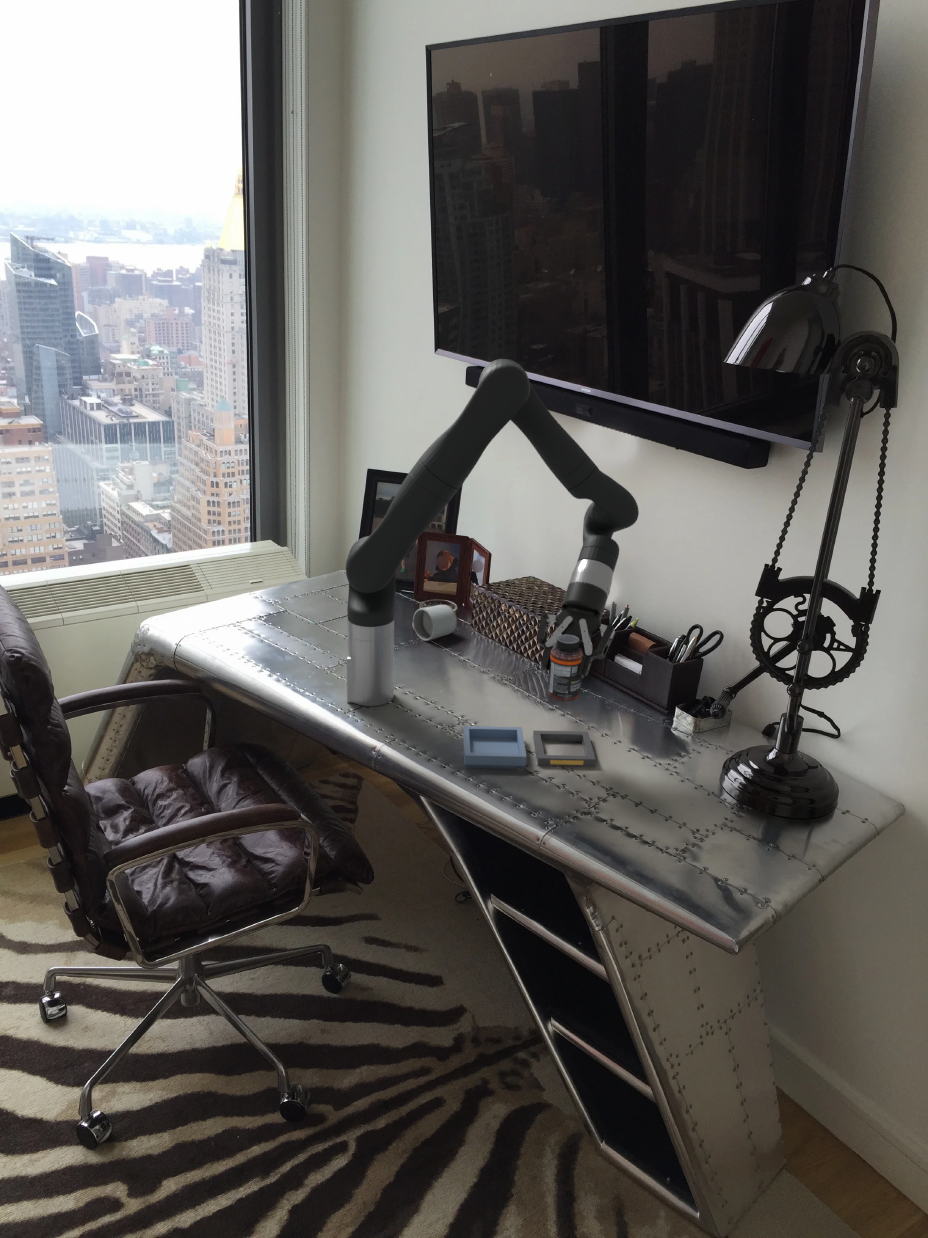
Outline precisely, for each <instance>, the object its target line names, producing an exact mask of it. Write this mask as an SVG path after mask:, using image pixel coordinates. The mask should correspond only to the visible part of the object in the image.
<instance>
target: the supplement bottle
mask: <svg viewBox="0 0 928 1238" xmlns="http://www.w3.org/2000/svg"><path fill="white" fill-rule="evenodd" d="M556 644H557V645H556V646H555V647H554V648H552V650H551V654H550V667H549V670H548V682H547V684H548V685H547V695H548V696H550V697H551V698H552V699H554V700H556V701H560V702H563V703H564V702H572V701H575V700H577V699H579V698H580V696H581V687H582V678H579V677H578V670H579V667H580V664H581V660H582V657H583V655H585V653H584V652H583V650H582V648H581V647H580V642H579V638H578V637H576V636H574V635H569V634H564V635H560V636H558V637H557V643H556Z"/></svg>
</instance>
